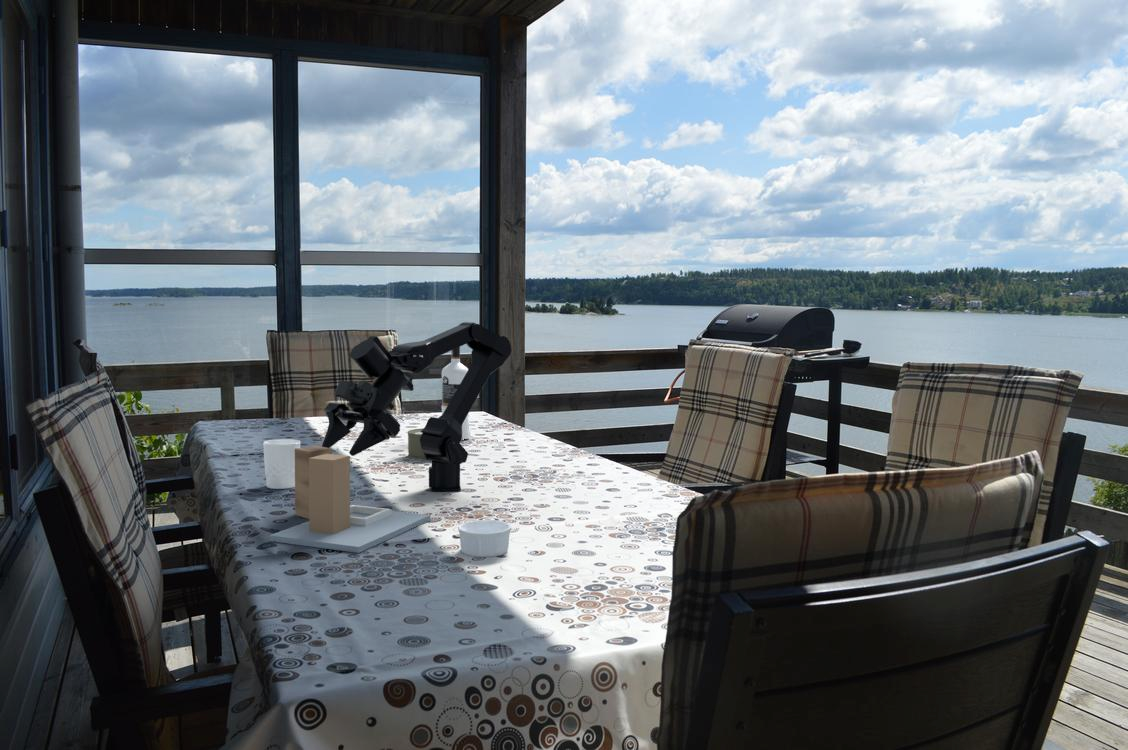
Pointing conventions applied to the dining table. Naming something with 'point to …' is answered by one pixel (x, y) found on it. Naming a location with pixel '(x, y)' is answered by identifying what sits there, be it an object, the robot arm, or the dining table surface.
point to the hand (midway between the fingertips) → (336, 451)
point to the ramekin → (484, 538)
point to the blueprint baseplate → (353, 533)
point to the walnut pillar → (304, 477)
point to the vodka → (454, 385)
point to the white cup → (280, 463)
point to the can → (415, 444)
